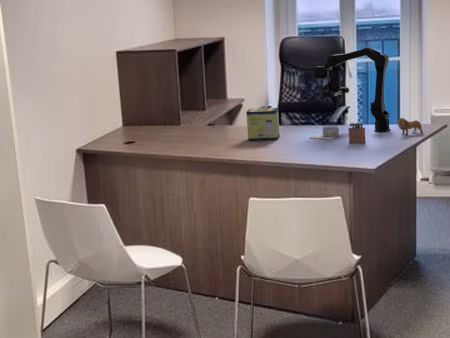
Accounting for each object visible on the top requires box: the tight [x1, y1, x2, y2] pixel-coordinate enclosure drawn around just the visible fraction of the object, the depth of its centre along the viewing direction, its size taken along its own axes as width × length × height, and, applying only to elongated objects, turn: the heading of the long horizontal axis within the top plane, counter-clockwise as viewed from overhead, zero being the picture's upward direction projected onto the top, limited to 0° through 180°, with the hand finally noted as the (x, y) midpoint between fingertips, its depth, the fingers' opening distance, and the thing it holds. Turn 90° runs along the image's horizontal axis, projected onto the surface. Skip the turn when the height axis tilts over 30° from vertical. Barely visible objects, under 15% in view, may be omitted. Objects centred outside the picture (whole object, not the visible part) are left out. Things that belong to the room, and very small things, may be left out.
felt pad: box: [309, 133, 340, 141], centre depth 368 cm, size 12×10×1 cm
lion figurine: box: [397, 117, 423, 136], centre depth 358 cm, size 15×5×9 cm, turn 114°
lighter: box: [347, 122, 367, 145], centre depth 345 cm, size 8×3×10 cm, turn 71°
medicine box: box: [322, 125, 340, 137], centre depth 368 cm, size 8×4×9 cm
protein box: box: [245, 107, 281, 142], centre depth 374 cm, size 10×16×16 cm
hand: (335, 108), depth 382 cm, fingers closed
